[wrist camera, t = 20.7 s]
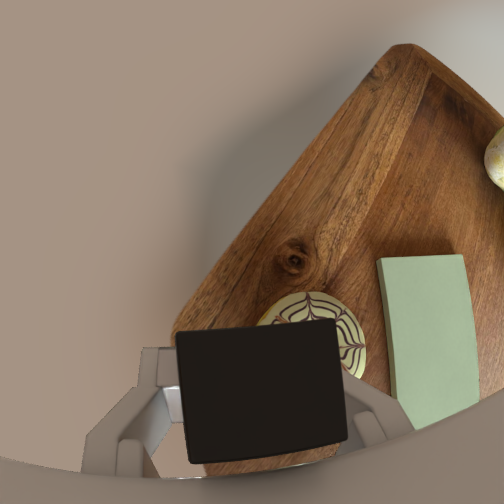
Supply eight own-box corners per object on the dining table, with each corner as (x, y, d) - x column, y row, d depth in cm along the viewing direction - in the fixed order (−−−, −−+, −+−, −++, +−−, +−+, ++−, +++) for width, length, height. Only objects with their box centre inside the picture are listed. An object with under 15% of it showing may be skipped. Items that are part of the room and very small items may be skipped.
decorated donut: (311, 425, 27) (325, 434, 24) (224, 359, 28) (226, 359, 25) (372, 342, 31) (391, 339, 27) (293, 276, 32) (304, 266, 28)
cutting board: (473, 408, 29) (479, 408, 28) (392, 440, 27) (398, 442, 26) (456, 256, 35) (462, 253, 34) (375, 260, 34) (380, 257, 32)
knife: (241, 377, 21) (367, 436, 4) (197, 381, 21) (167, 466, 4) (238, 349, 22) (354, 313, 5) (195, 352, 21) (153, 331, 4)
